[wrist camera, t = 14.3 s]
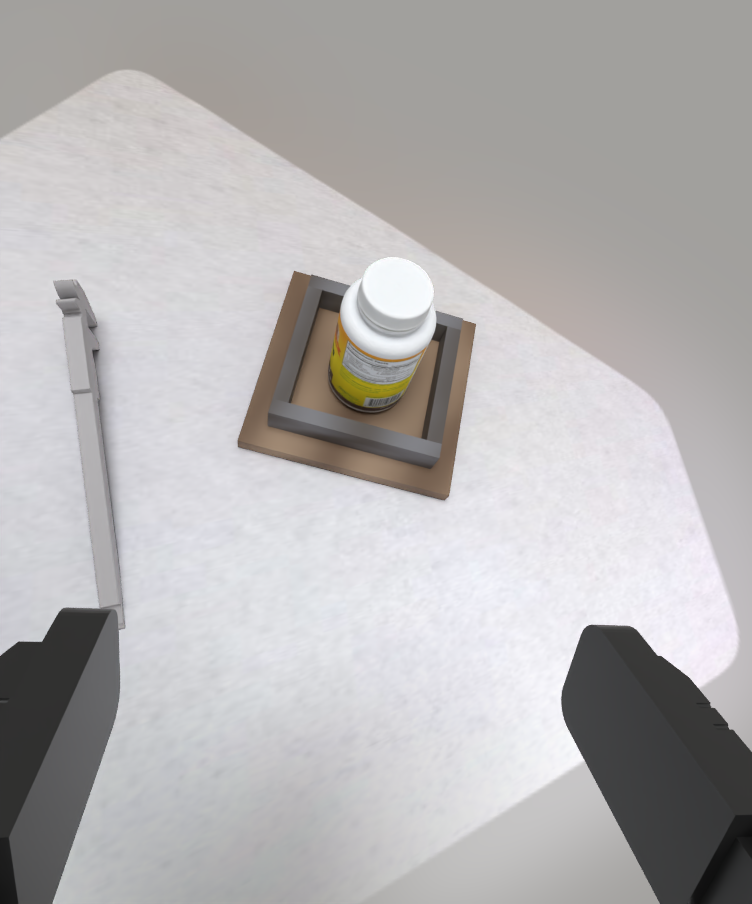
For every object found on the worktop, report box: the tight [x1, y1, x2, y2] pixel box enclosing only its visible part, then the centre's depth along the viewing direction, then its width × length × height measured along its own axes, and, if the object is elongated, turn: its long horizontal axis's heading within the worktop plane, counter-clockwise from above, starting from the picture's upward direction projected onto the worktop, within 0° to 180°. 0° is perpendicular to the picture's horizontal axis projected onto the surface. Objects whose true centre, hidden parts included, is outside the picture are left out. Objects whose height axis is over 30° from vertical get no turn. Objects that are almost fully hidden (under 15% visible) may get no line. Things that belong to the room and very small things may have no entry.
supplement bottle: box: [328, 257, 436, 412], centre depth 35 cm, size 6×6×10 cm
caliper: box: [53, 279, 125, 630], centre depth 33 cm, size 20×1×6 cm, turn 14°
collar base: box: [238, 271, 476, 500], centre depth 39 cm, size 14×14×3 cm
